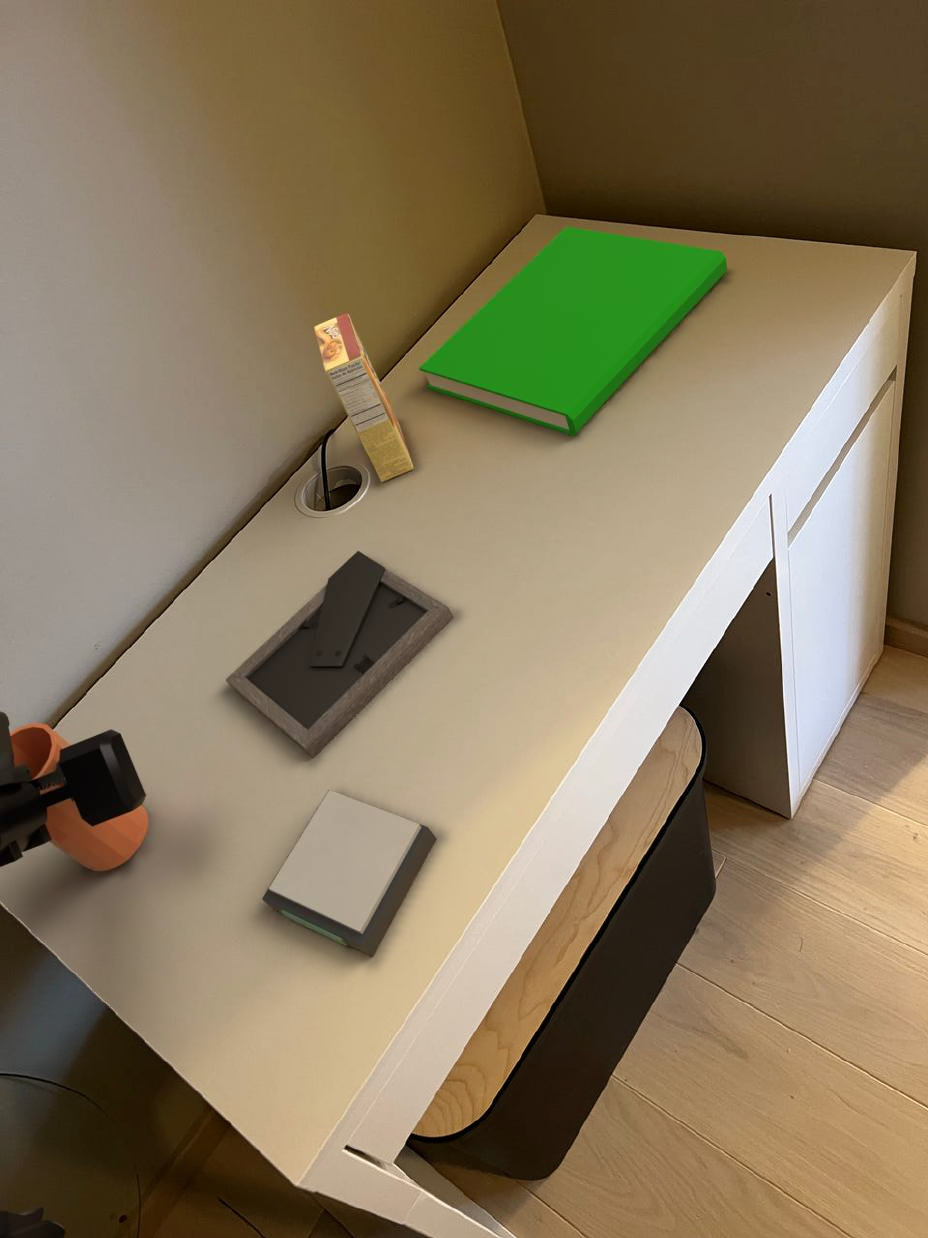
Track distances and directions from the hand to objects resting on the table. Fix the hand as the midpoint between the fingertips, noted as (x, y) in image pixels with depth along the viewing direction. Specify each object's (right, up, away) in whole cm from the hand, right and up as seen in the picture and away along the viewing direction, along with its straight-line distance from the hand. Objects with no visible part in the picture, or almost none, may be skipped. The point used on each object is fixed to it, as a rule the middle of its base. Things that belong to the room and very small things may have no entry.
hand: (68, 785), depth 81 cm
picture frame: (+22, +10, +10) cm, 26 cm away
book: (+46, +46, +30) cm, 72 cm away
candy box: (+25, +32, +27) cm, 49 cm away
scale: (+24, -6, -5) cm, 26 cm away
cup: (+2, -5, +4) cm, 7 cm away
